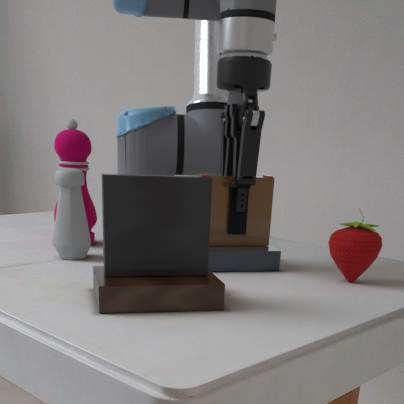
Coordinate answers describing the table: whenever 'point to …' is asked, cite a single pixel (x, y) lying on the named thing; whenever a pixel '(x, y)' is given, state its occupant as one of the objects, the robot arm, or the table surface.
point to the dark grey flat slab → (156, 224)
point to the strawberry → (354, 248)
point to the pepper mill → (76, 164)
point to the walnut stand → (157, 293)
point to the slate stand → (243, 258)
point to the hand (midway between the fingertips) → (233, 231)
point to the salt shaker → (71, 216)
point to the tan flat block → (256, 213)
